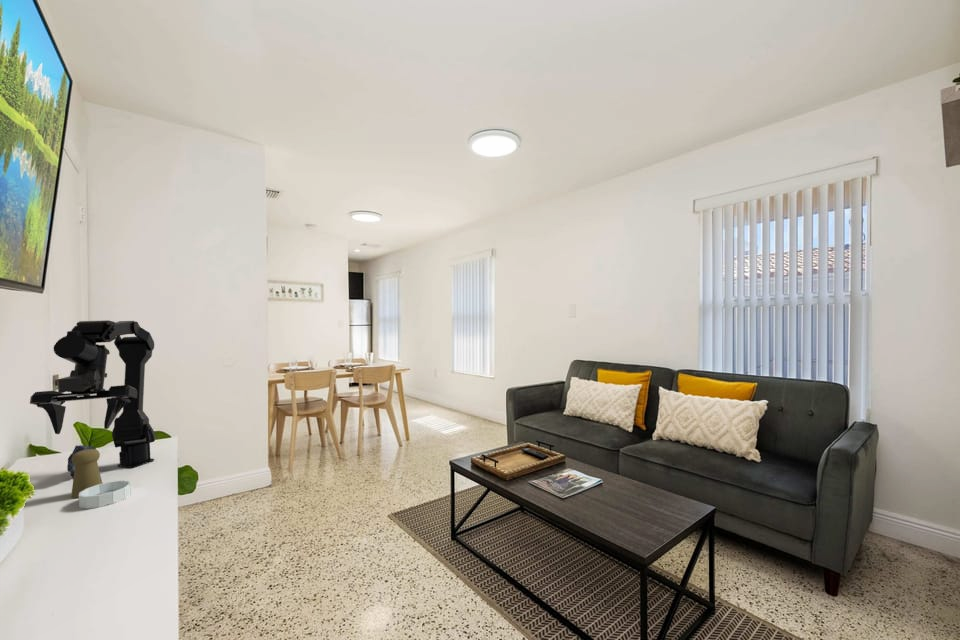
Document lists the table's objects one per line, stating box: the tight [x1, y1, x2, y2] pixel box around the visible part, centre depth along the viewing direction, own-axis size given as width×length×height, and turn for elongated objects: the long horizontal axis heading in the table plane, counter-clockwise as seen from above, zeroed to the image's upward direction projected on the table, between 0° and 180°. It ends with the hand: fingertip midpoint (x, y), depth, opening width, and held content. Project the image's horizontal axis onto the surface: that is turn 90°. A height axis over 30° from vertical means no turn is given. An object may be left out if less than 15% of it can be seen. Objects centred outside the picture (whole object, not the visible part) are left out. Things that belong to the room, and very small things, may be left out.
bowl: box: [78, 479, 132, 510], centre depth 102 cm, size 9×9×3 cm
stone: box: [66, 444, 97, 477], centre depth 118 cm, size 14×6×10 cm, turn 44°
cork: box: [70, 448, 103, 499], centre depth 106 cm, size 6×6×11 cm
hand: (82, 431), depth 100 cm, fingers open, 9 cm apart
